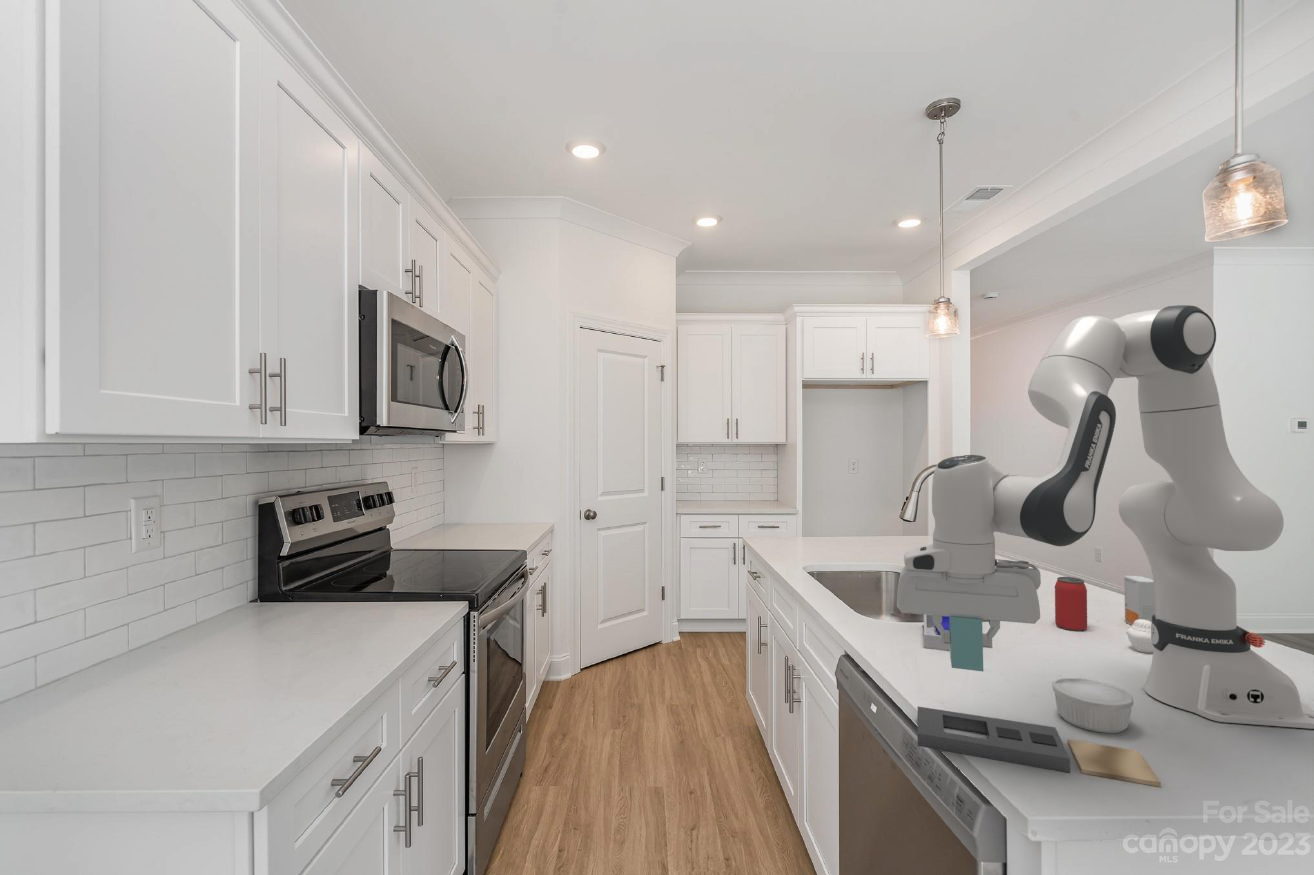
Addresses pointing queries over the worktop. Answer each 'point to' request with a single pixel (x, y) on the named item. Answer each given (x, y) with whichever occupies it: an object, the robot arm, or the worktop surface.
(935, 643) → the clip tray
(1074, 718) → the ramekin
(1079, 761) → the pad
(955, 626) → the upright teal block
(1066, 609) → the beer can
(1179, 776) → the worktop surface
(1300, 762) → the worktop surface
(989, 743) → the grey slotted board
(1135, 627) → the muffin
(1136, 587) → the skincare box
